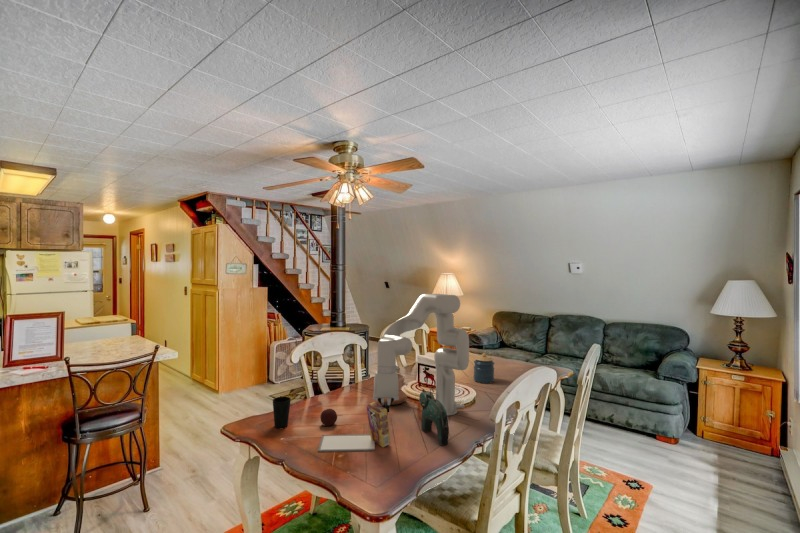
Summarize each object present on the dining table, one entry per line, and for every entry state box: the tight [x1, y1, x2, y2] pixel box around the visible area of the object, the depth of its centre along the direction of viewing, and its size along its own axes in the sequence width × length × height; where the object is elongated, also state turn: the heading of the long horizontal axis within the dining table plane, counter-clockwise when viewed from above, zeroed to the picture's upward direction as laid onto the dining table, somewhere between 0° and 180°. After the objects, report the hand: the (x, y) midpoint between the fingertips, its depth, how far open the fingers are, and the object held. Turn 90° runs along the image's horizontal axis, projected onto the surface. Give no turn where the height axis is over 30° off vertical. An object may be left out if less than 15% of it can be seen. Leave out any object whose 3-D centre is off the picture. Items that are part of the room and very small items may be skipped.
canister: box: [473, 352, 495, 384], centre depth 251 cm, size 13×13×18 cm
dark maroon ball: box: [320, 408, 338, 427], centre depth 178 cm, size 7×8×7 cm
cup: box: [272, 396, 291, 430], centre depth 175 cm, size 8×8×12 cm
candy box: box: [366, 401, 391, 448], centre depth 159 cm, size 9×4×15 cm, turn 39°
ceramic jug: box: [384, 372, 409, 406], centre depth 209 cm, size 18×14×14 cm
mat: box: [317, 433, 376, 453], centre depth 160 cm, size 22×14×1 cm, turn 94°
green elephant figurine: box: [418, 387, 450, 447], centre depth 168 cm, size 20×6×20 cm, turn 23°
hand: (385, 414), depth 161 cm, fingers closed
